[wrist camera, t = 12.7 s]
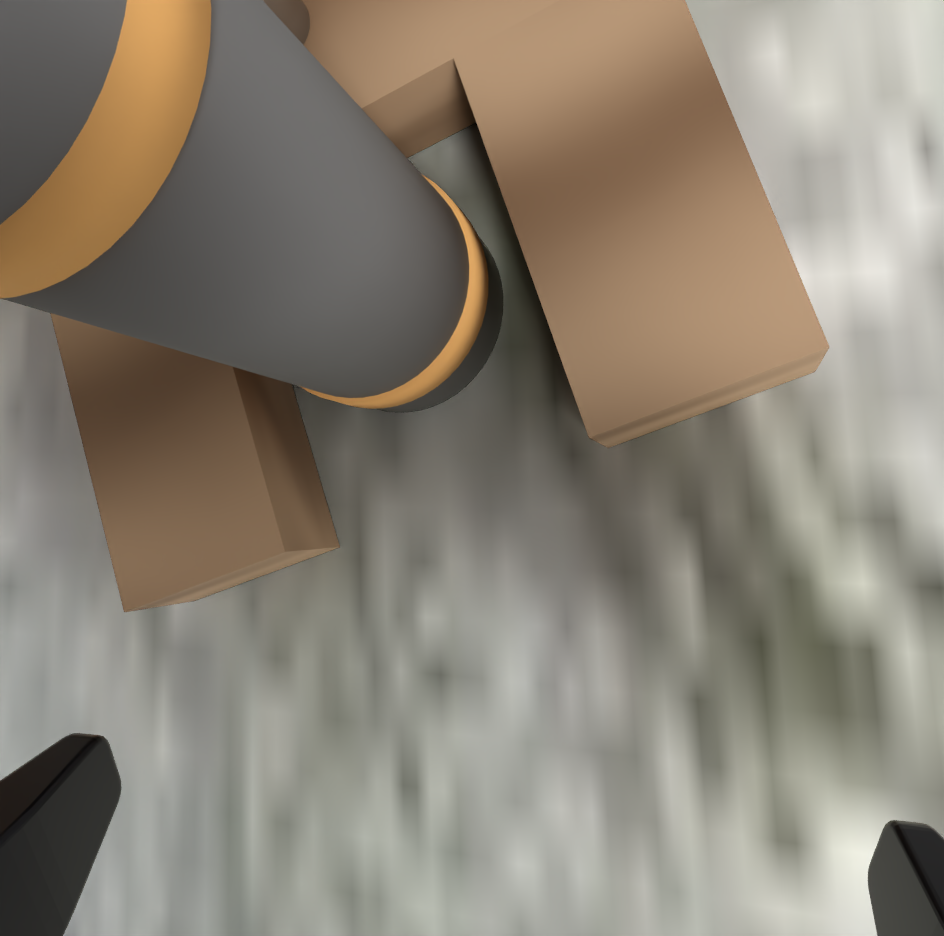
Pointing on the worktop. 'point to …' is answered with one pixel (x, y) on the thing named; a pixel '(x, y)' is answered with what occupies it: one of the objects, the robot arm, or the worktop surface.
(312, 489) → the tan u-shaped stand
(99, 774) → the robot arm
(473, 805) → the worktop surface
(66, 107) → the orange banded cylinder
